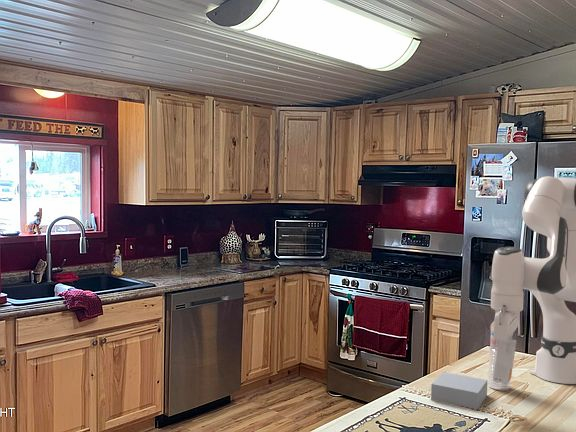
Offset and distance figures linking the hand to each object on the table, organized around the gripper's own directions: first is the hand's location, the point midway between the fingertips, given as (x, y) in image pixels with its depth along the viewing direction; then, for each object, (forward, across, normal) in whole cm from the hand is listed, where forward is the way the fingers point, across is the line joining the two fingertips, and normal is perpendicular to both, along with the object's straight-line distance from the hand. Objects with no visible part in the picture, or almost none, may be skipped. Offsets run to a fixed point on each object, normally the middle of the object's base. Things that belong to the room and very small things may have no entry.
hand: (505, 349), depth 159 cm
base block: (+19, +6, +14) cm, 24 cm away
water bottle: (+20, +22, +5) cm, 30 cm away
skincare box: (+9, 0, +1) cm, 9 cm away
